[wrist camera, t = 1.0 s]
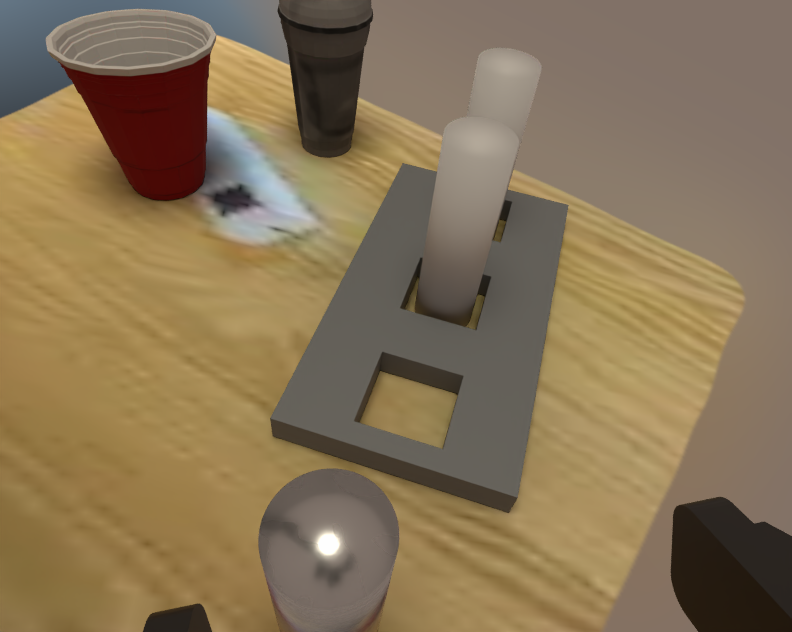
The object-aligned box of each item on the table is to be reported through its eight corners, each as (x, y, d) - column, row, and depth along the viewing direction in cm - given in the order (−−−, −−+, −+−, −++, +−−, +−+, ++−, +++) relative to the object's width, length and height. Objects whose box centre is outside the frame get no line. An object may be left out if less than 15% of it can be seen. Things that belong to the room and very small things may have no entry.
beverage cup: (370, 166, 52) (386, -103, 37) (286, 166, 51) (267, -110, 36) (362, 121, 57) (374, -134, 41) (285, 120, 55) (269, -142, 40)
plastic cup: (232, 136, 53) (212, -4, 44) (240, 213, 46) (218, 66, 37) (103, 144, 51) (53, -3, 42) (92, 226, 44) (30, 72, 35)
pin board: (272, 436, 34) (247, 263, 24) (400, 182, 51) (419, 14, 40) (508, 512, 32) (596, 363, 22) (561, 224, 49) (624, 59, 38)
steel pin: (272, 675, 26) (233, 579, 16) (306, 586, 29) (292, 452, 18) (356, 707, 26) (373, 631, 15) (383, 613, 28) (415, 492, 18)
